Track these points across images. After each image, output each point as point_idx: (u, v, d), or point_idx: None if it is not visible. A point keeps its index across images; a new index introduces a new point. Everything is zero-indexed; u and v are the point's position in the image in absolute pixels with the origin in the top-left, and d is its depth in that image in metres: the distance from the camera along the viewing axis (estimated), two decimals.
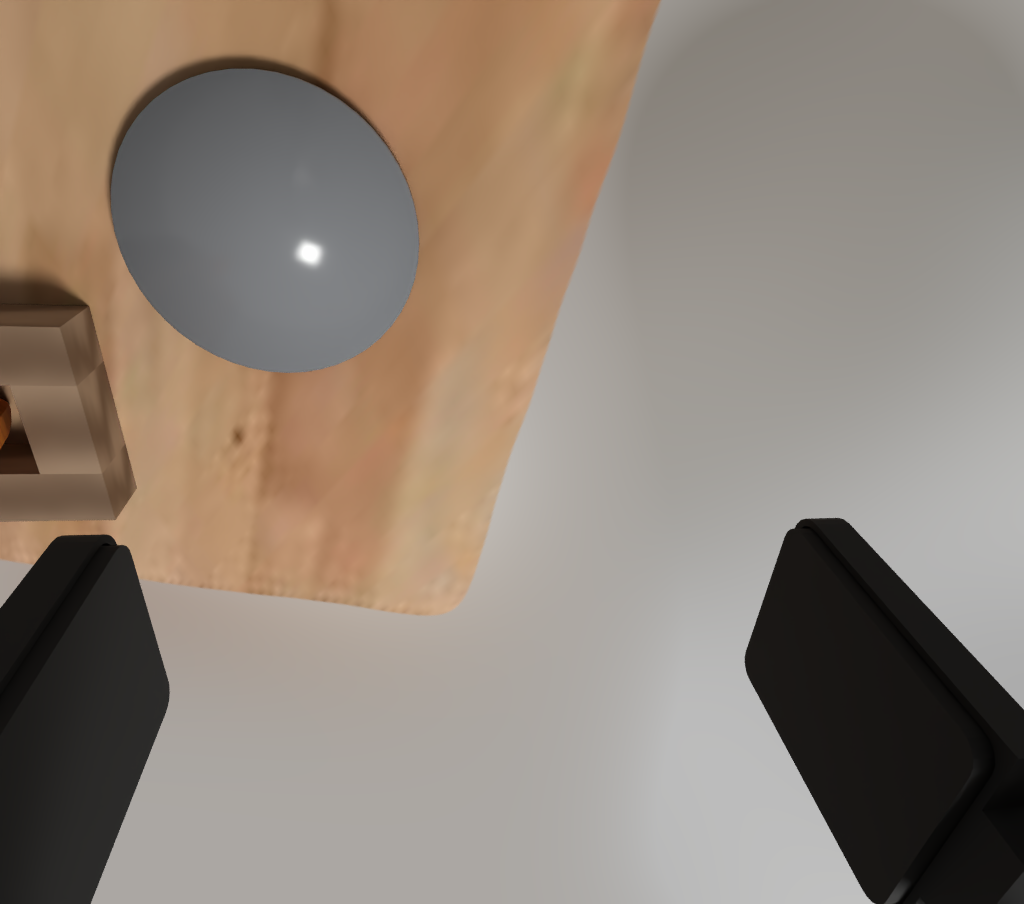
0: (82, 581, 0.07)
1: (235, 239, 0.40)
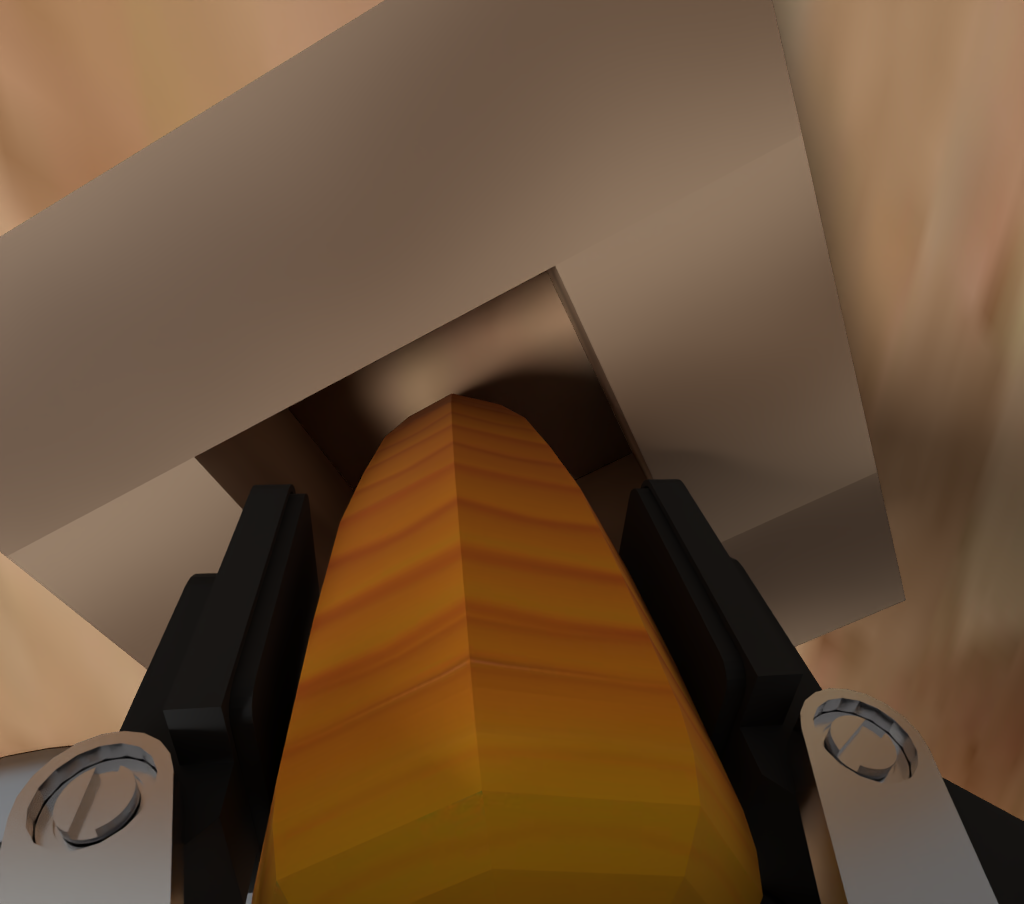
0: (286, 520, 0.09)
1: None
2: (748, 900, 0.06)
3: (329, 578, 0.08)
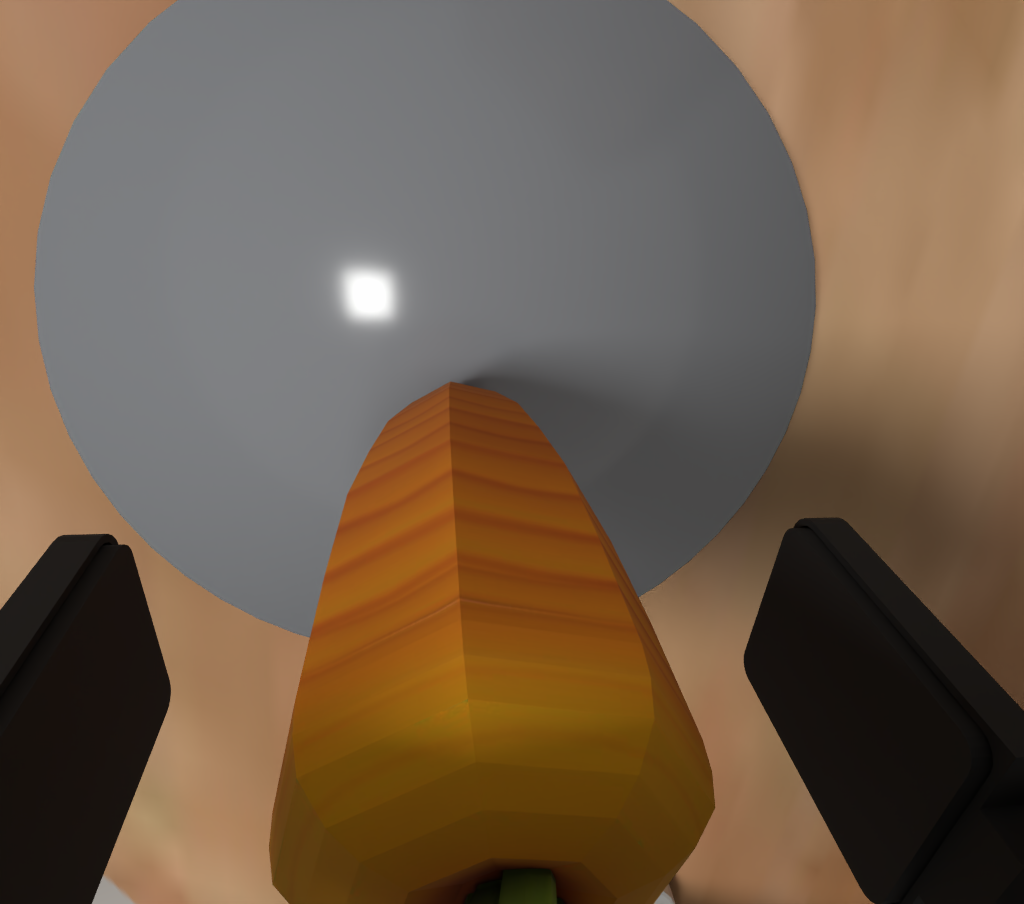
0: (84, 580, 0.07)
1: (529, 344, 0.15)
2: (701, 807, 0.07)
3: (338, 541, 0.09)
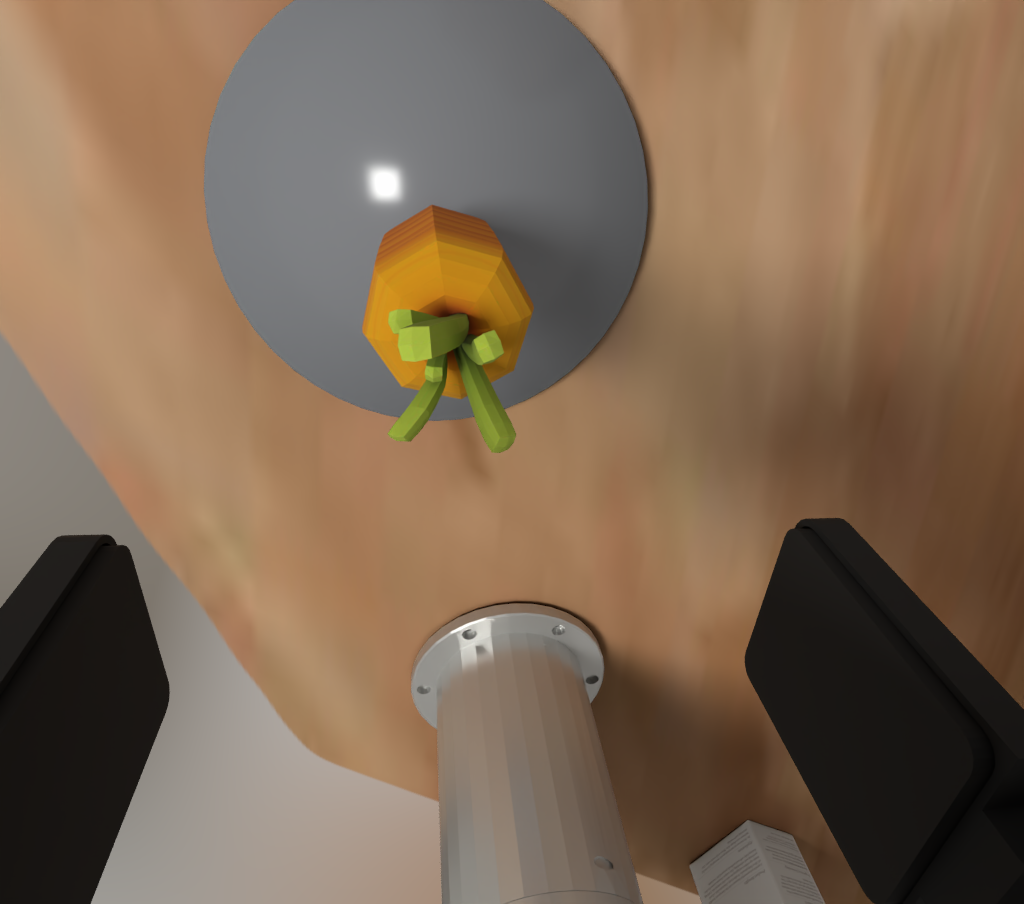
0: (82, 581, 0.07)
1: (479, 200, 0.27)
2: (524, 307, 0.18)
3: (383, 240, 0.20)
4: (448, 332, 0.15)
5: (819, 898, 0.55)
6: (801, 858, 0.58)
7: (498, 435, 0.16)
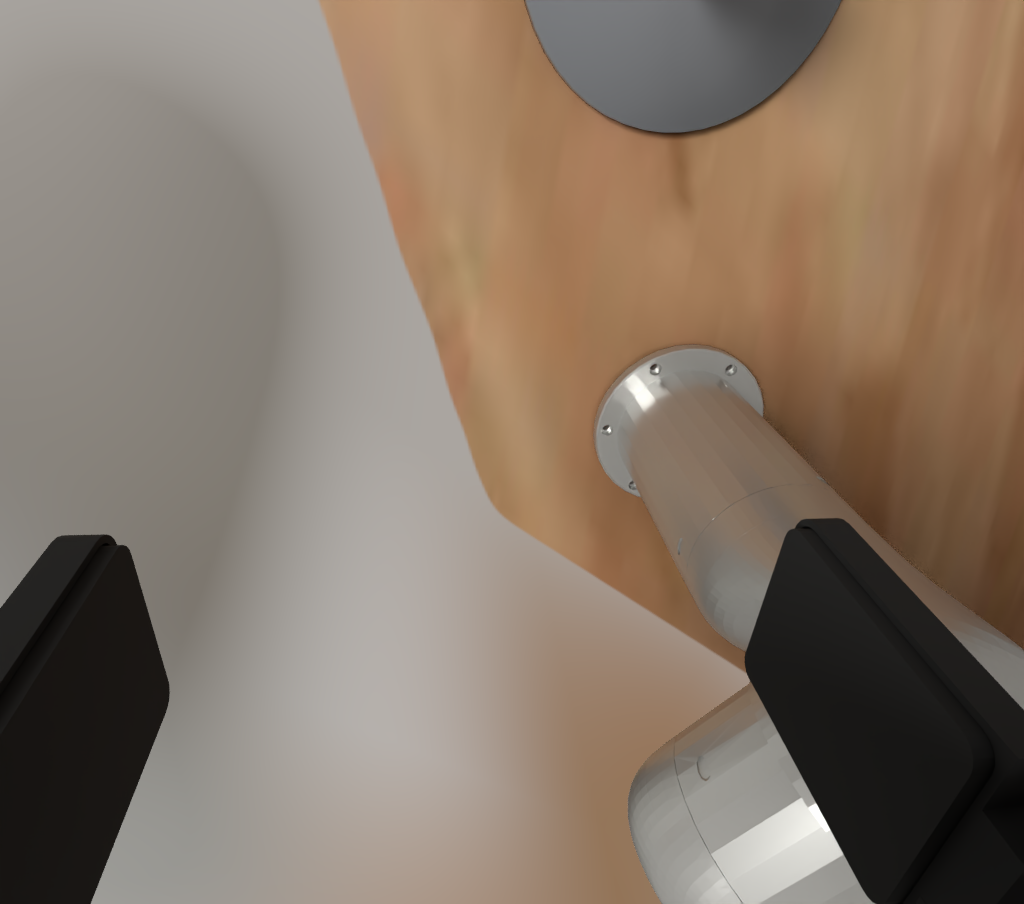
0: (82, 581, 0.07)
1: None
2: None
3: None
4: None
5: None
6: None
7: None
